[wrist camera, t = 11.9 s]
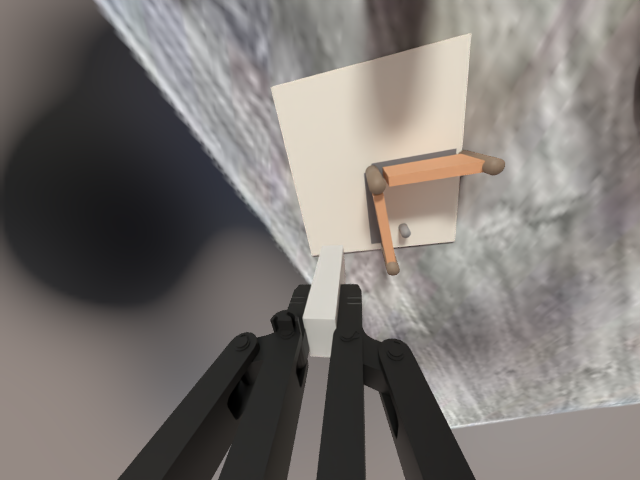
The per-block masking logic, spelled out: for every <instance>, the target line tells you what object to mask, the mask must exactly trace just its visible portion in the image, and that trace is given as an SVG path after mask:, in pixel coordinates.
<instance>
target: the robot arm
mask: <svg viewBox="0 0 640 480" xmlns="http://www.w3.org/2000/svg"><path fill="white" fill-rule="evenodd" d="M345 277H346V276H345V262H344V249H343V245H329V246H322V248H321V251H320V255H319V259H318V263H317V266H316V270H315V274H314V277H313V281H312V285H299V286H298V287H297V288H296V289H295V290H294V293H293V295H292V298H291V301H290V304H289V307H288V309H287V310H283V311H280V312H278V313H276V314H275V315H274V316H273V317H272V318H271V323H272V327H273V330H274V333H272V334H269V335H266V336H262V337H258V338H256V336H255V335H254V334H253V333H249V332H246V333H242V334H240V335H238V336H236V337H235V338H234V339H233V340H232V341H231V342H230V343H229V344H228V346H227V347H226V348H225V349H224V351H223V352H222V353H221V354H220V356H219V357H218V358H217V359H216V360H215V362H214V363H213V364H212V365H211V366H210V368H209V369H208V370H207V371H206V372H205V374H204V375H203V376H202V378H201V379H200V380H199V381H198V382H197V383H196V385H195V386H194V387H193V388H192V390H191V391H190V392H189V393H188V394H187V396H186V397H185V398H184V399H183V400H182V402H181V403H180V404H179V405H178V407H177V408H176V409H175V410H174V411H173V413H172V414H171V415H170V417H169V418H168V419H167V420H166V421H165V422H164V424H163V425H162V426H161V427H160V429H159V430H158V431H157V432H156V433H155V435H154V436H153V437H152V438H151V440H150V441H149V442H148V443H147V444H146V446H145V447H144V448H143V449H142V450H141V452H140V453H139V454H138V455H137V457H136V458H135V459H134V460H133V462H132V463H131V464H130V465H129V466H128V467H127V469H126V470H125V471H124V473H123V474H122V475H121V476H120V477H119V479H118V480H211V479H212V477H213V476H214V474H215V472H216V470H217V468H218V467H219V465H220V463H221V461H222V460H223V458H224V456H225V455H226V453H227V451H228V449H229V447H230V446H231V447H230V450H229V453H228V455H227V458H226V461H225V463H224V466H223V468H222V471H221V474H220V476H219V479H218V480H287V476H288V471H289V466H290V461H291V455H292V450H293V445H294V440H295V434H296V429H297V424H298V419H299V414H300V408H301V403H302V398H303V393H304V387H305V382H306V377H307V372H308V360H307V358H308V353H309V352H310V356H315V357H330V365H329V374H328V383H327V391H326V401H325V409H324V417H323V426H322V435H321V444H320V452H319V453H320V454H319V461H318V471H317V479H316V480H366V469H365V467H366V466H365V424H364V423H365V419H364V385H366V386H368V387H371V388H373V389H375V390H377V391H379V394H380V397H381V400H382V404H383V407H384V410H385V414H386V417H387V420H388V423H389V427H390V430H391V433H392V437H393V440H394V443H395V446H396V449H397V453H398V456H399V459H400V463H401V466H402V470H403V473H404V476H405V479H406V480H476V479H475V477H474V475H473V473H472V471H471V469H470V467H469V465H468V463H467V461H466V459H465V458H464V455H463V453H462V451H461V449H460V447H459V445H458V443H457V441H456V439H455V437H454V435H453V433H452V431H451V429H450V427H449V425H448V423H447V421H446V419H445V417H444V415H443V413H442V411H441V409H440V407H439V405H438V403H437V401H436V399H435V397H434V395H433V393H432V391H431V389H430V387H429V385H428V383H427V381H426V379H425V377H424V375H423V373H422V371H421V369H420V367H419V365H418V363H417V361H416V359H415V357H414V355H413V353H412V351H411V349H410V348H409V347H408V345H407V344H405V343H404V342H402V341H401V340H398V339H387V340H384V341H383V342H380V341H377V340H374V339H372V338H370V337H369V336H368V335H367V334H366V333H365V332H364V330H363V327H362V295H361V289H360V287H359V286H358V284H345ZM231 444H232V445H231Z"/></svg>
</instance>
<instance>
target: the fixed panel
mask: <svg viewBox="0 0 640 480" xmlns="http://www.w3.org/2000/svg"><path fill="white" fill-rule="evenodd" d="M504 167H505V162H504V160H502V159H499V158H495V157H491V156H487V155H483V154H479V153H475V152H471V151H467V150H463V151H461V152H459V153H458V154H456V155H450V156H444V157H439V158H433V159H427V160H421V161H416V162H410V163H404V164H398V165H392V166H387V167H382V168H383V177H384V178H385V180H386V182H387V184H388V186H389V187H391V186H398V185H404V184H410V183H417V182H423V181H430V180H436V179H443V178H449V177H456V176H462V175H468V174H475V173H481V172H484V173H487V174H490V175H497V174H499V173H501V172H502V171H503V169H504ZM365 174H366V178H367V182H368V187H369V190H370V192H371V193H373V194H376V195H377V194H381V193H382V192H384V190H385V188H386V183H385V181H384V179H383V177H382V175H381V173H380V171H379V169H378V168H377V167H376V166H374V165H371V166H369V167H367V169H366V171H365Z"/></svg>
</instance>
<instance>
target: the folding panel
mask: <svg viewBox="0 0 640 480" xmlns="http://www.w3.org/2000/svg"><path fill="white" fill-rule="evenodd" d="M372 195H373V200H374V205H375V210H376V215H377V220H378V225H379V230H380V235H381V240H382V241H381V247H382V251H383V256H384V260H385V265H386V269H387V273H388V274H389V275H397V274H398V273H399V271H400V269H399V266H398V263H397V260H396V256H395V253H394V249H393V243H392V238H391V232H390V227H389V221H388V216H387V210H386V205H385V199H384V194H383V192H382V193H381V194H377V195H376V194H373V193H372Z"/></svg>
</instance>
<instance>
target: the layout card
mask: <svg viewBox="0 0 640 480" xmlns="http://www.w3.org/2000/svg"><path fill="white" fill-rule="evenodd" d="M470 43H471V33H469V34H465V35H462V36H458V37H454V38H451V39H447V40H443V41H439V42H436V43H432V44H428V45H425V46H421V47H417V48H414V49H410V50H406V51H402V52H399V53H395V54H391V55H388V56H384V57H380V58H377V59H373V60H369V61H366V62H362V63H358V64H354V65H351V66H347V67H343V68H340V69H336V70H332V71H329V72H325V73H321V74H317V75H314V76H310V77H306V78H303V79H299V80H295V81H292V82H288V83H284V84H280V85H277V86H273V87H271V90H272V94H273V98H274V103H275V107H276V111H277V115H278V119H279V123H280V127H281V131H282V135H283V139H284V143H285V147H286V152H287V156H288V160H289V164H290V168H291V172H292V176H293V180H294V184H295V188H296V192H297V196H298V201H299V205H300V209H301V213H302V217H303V221H304V225H305V229H306V233H307V237H308V241H309V245H310V250H311V254H312V256H315V255H320V251H321V248H322V246H329V245H343V249H344V253H345V252H355V251H365V250H375V249H382V247H381V241H382V240H381V235H380V230H379V225H378V220H377V215H376V210H375V205H374V200H373V195H372V193H371V192H370V190H369V187H368V182H367V178H366V174H365V171H366V169H367V167H369V166H371V165H374V166H376V167H377V168H378V169H379V171H380V173H381V175H382V177H383V168H382V167H387V166H392V165H398V164H404V163H410V162H416V161H421V160H427V159H433V158H439V157H444V156H450V155H456V154H458V153H459V152H461V151H462V144H463V131H464V119H465V106H466V94H467V81H468V68H469V56H470ZM383 179H384V181H385V183H386V188H385V190H384V192H383V194H384V199H385V205H386V210H387V216H388V221H389V227H390V232H391V238H392V243H393V248H394V247H404V246H414V245H424V244H434V243H444V242H453V241H455V233H456V220H457V207H458V195H459V182H460V176H456V177H449V178H443V179H436V180H430V181H423V182H417V183H410V184H404V185H398V186H391V187H389V186H388V184H387V182H386V180H385V178H384V177H383Z"/></svg>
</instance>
